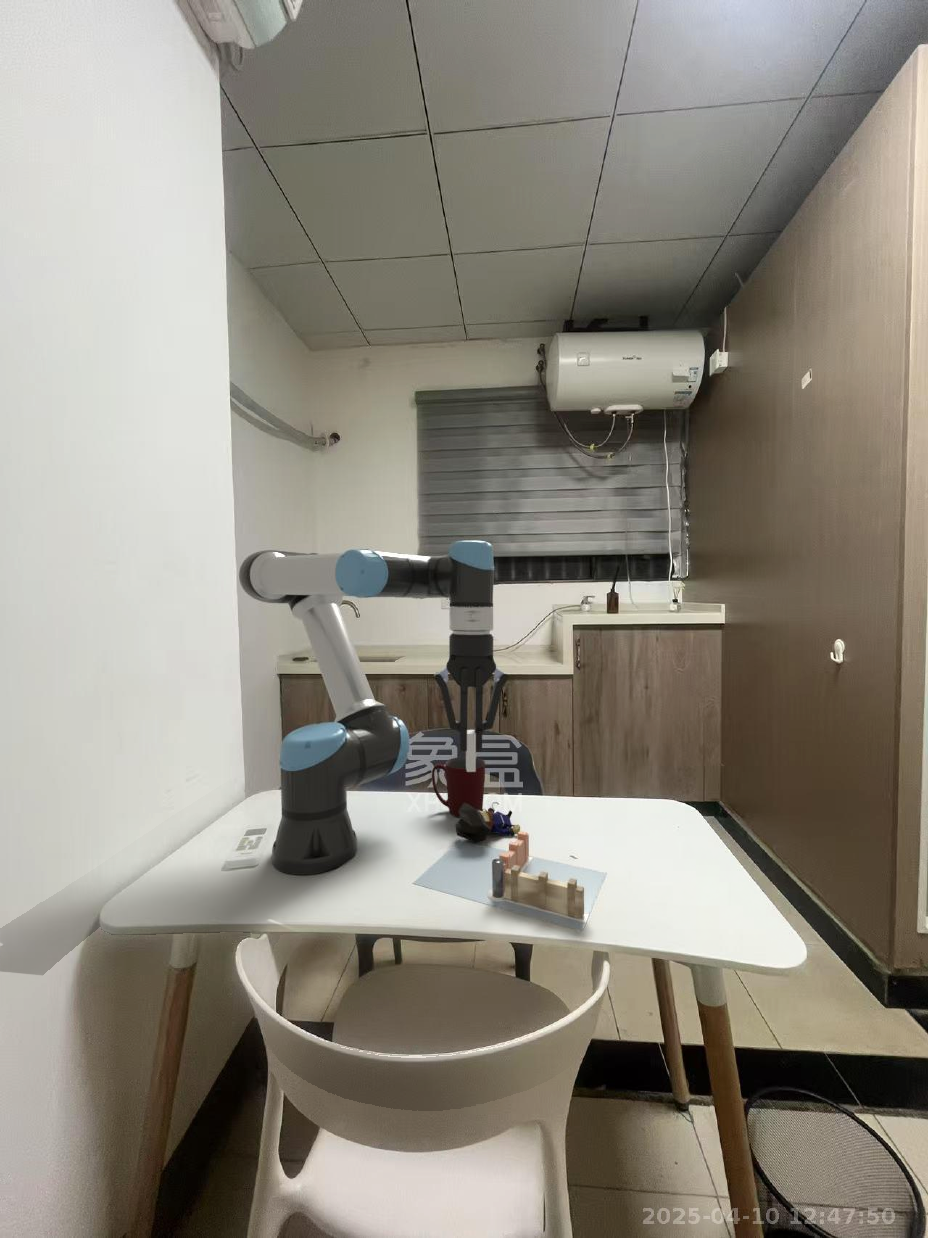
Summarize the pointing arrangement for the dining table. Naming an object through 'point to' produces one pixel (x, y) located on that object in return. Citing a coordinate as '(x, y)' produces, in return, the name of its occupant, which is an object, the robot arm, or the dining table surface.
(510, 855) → the swing panel
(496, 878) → the hinge post
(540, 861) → the card
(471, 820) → the toy
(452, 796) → the mug
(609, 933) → the dining table surface
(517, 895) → the fixed panel
